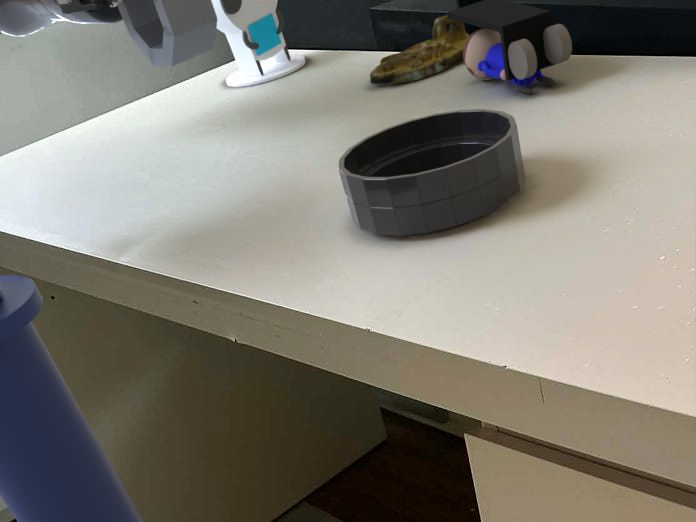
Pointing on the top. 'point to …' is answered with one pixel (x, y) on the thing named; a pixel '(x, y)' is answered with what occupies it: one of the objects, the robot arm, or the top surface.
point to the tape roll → (170, 28)
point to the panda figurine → (255, 40)
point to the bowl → (433, 172)
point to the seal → (424, 55)
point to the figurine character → (512, 42)
